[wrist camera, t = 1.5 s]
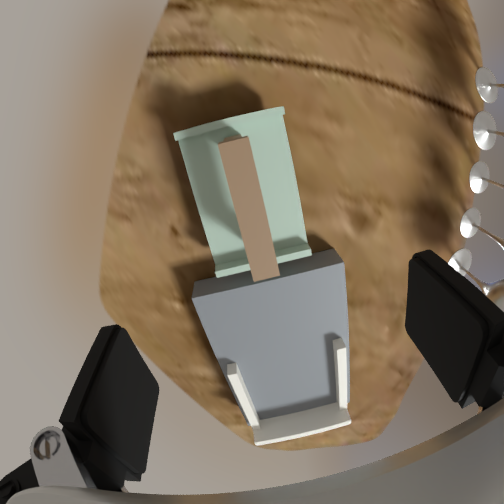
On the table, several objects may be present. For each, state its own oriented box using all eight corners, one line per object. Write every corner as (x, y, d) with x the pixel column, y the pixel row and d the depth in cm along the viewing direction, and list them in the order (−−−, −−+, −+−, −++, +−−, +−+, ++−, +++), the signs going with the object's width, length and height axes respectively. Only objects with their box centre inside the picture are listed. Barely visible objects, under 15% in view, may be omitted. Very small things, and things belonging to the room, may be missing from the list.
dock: (194, 281, 29) (187, 322, 24) (333, 248, 29) (357, 281, 23) (247, 409, 39) (250, 446, 33) (343, 386, 38) (356, 421, 32)
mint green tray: (181, 131, 23) (159, 136, 16) (275, 108, 23) (296, 103, 16) (218, 256, 28) (214, 308, 21) (301, 236, 28) (326, 281, 21)
